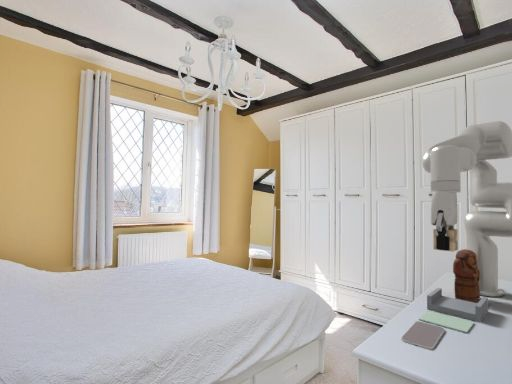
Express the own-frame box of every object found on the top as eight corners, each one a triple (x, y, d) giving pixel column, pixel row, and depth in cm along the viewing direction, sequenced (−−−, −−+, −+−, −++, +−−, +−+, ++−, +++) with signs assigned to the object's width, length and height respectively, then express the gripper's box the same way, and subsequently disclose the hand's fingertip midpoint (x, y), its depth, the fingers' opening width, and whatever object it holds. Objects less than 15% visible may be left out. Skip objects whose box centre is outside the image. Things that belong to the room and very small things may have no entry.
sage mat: (428, 312, 95) (428, 310, 95) (474, 323, 86) (474, 322, 86) (418, 319, 89) (418, 318, 89) (467, 333, 80) (467, 331, 80)
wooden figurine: (473, 305, 101) (472, 252, 101) (451, 300, 106) (451, 250, 106) (483, 298, 108) (482, 249, 108) (462, 294, 113) (462, 246, 113)
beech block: (438, 247, 91) (438, 228, 92) (457, 249, 88) (457, 229, 88) (433, 249, 88) (433, 229, 88) (453, 251, 84) (453, 230, 84)
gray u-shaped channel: (437, 300, 106) (437, 287, 106) (487, 311, 96) (487, 297, 96) (427, 309, 97) (427, 295, 98) (480, 322, 87) (480, 307, 87)
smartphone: (399, 338, 76) (416, 320, 87) (399, 342, 76) (416, 323, 87) (432, 348, 71) (445, 328, 82) (432, 352, 71) (445, 331, 82)
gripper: (439, 188, 97) (439, 244, 96) (421, 187, 85) (422, 250, 85) (467, 188, 91) (467, 247, 91) (452, 186, 80) (452, 254, 79)
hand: (445, 248), depth 88 cm, fingers closed on beech block, 5 cm apart
